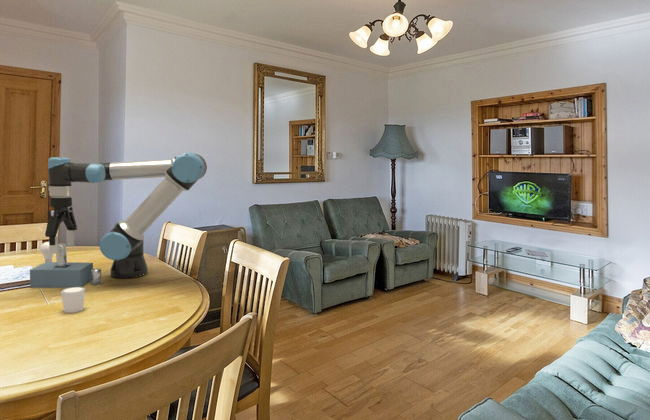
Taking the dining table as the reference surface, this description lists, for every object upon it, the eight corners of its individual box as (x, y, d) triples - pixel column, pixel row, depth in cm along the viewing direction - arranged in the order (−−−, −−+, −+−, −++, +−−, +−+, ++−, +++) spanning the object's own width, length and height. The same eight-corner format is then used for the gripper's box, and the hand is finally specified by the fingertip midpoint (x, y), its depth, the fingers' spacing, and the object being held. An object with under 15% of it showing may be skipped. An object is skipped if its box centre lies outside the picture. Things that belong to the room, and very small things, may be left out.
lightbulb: (39, 267, 185) (38, 243, 184) (41, 263, 191) (40, 240, 189) (56, 266, 188) (55, 242, 187) (57, 262, 194) (56, 240, 192)
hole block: (93, 278, 172) (92, 262, 171) (80, 287, 160) (79, 270, 159) (46, 278, 169) (46, 262, 168) (30, 287, 157) (29, 269, 157)
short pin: (102, 282, 167) (102, 268, 167) (99, 285, 164) (99, 270, 163) (93, 282, 167) (93, 268, 166) (90, 285, 164) (89, 270, 163)
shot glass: (79, 304, 142) (79, 285, 142) (89, 309, 138) (88, 289, 138) (57, 309, 137) (57, 289, 136) (67, 315, 133) (66, 294, 132)
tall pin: (69, 281, 166) (67, 243, 165) (65, 284, 163) (63, 245, 161) (60, 281, 166) (58, 243, 164) (55, 284, 163) (53, 245, 161)
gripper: (65, 193, 172) (67, 242, 175) (32, 199, 148) (35, 256, 150) (84, 194, 173) (86, 243, 176) (54, 200, 149) (57, 256, 151)
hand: (62, 249), depth 163 cm, fingers open, 13 cm apart
